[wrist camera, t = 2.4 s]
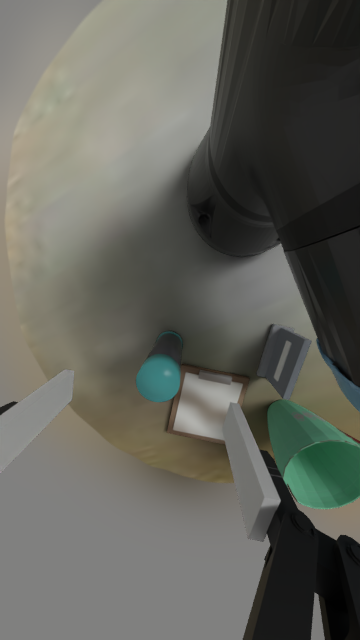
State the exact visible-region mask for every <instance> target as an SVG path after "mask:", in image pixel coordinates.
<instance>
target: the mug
mask: <svg viewBox="0 0 360 640" xmlns="http://www.w3.org/2000/svg"><path fill="white" fill-rule="evenodd" d="M267 420H268V429H269V436H270V441H271V445H272V449H273V452H274V456H275V459H276V463H277V467H278V470H279V471H280V473H281V475H282V478H283V479H284V481H285V484H286V486H287V485H288V486H287V488H288V487H289V489H288V490H290V492H291V494H292V495H293V497H294V498H295V499H296V501H297V502H298V503H300V504H302V505H305V506H308V507H311V508H318V509H331V508H337V507H342V506H344V505H347V504H349V503H352V502H354V501H355V500H356V499H358V498H359V497H360V441H358V440H357V439H355V438H353V437H351V436H350V435H348V434H346V433H344V432H343V431H341V430H339V429H337V428H336V427H334V426H333V425H331V424H330V423H328V422H327V421H325V420H324V419H322V418H321V417H319V416H318V415H316V414H314V413H312V412H311V411H309V410H307V409H306V408H304V407H302V406H300V405H298V404H295V403H293V402H291V401H288V400H277V401H275V402H273V403H272V404H271V405H270V406H269V408H268V411H267Z"/></svg>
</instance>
